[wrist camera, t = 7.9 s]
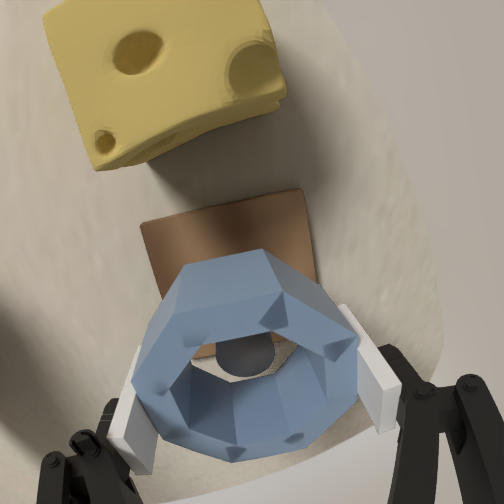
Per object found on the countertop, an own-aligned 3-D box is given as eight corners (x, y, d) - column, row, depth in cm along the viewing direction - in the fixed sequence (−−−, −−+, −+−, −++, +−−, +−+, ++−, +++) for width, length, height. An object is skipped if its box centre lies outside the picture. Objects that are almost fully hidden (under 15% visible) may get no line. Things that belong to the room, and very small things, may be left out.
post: (185, 353, 27) (173, 439, 17) (142, 222, 23) (94, 271, 14) (318, 325, 27) (358, 403, 18) (299, 188, 23) (349, 215, 14)
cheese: (275, 112, 22) (311, 86, 12) (138, 170, 22) (83, 186, 12) (222, -2, 18) (224, -77, 9) (93, 55, 19) (27, 14, 9)
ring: (184, 407, 18) (181, 468, 14) (133, 275, 15) (104, 325, 11) (328, 377, 19) (355, 433, 14) (315, 237, 16) (355, 273, 11)
